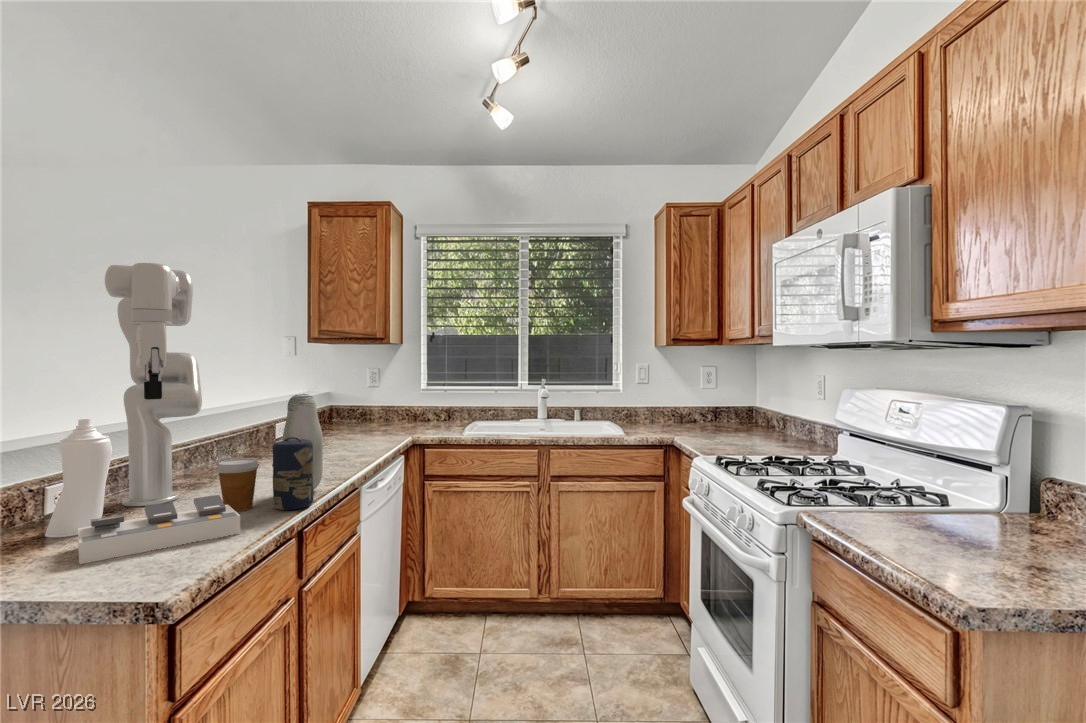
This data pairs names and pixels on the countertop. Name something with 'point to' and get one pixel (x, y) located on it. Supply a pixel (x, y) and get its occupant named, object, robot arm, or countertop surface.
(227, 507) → the switch unit
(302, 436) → the grey bottle
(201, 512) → the rocker
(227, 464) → the disposable coffee cup
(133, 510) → the countertop surface
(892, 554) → the countertop surface
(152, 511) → the rocker middle
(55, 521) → the white bottle
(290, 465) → the canister
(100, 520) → the plate
